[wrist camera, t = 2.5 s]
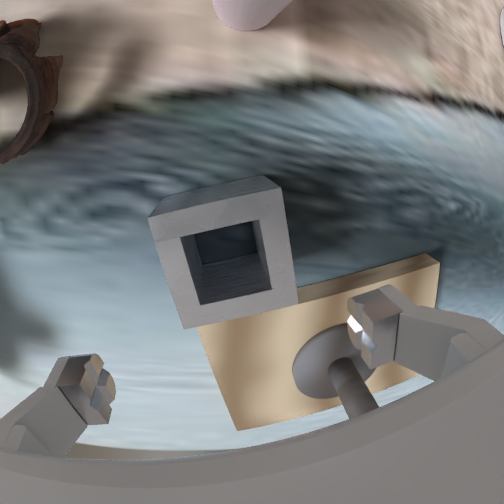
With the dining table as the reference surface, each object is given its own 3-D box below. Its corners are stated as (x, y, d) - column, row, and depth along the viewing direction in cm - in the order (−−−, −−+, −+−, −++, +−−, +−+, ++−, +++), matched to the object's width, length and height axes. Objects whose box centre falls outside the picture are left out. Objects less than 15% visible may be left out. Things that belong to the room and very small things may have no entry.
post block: (425, 253, 21) (492, 299, 14) (411, 361, 26) (452, 414, 18) (197, 310, 20) (194, 397, 13) (235, 414, 25) (244, 487, 17)
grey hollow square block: (262, 174, 18) (281, 187, 13) (278, 265, 20) (298, 304, 15) (164, 197, 17) (147, 218, 13) (189, 285, 20) (184, 329, 15)
